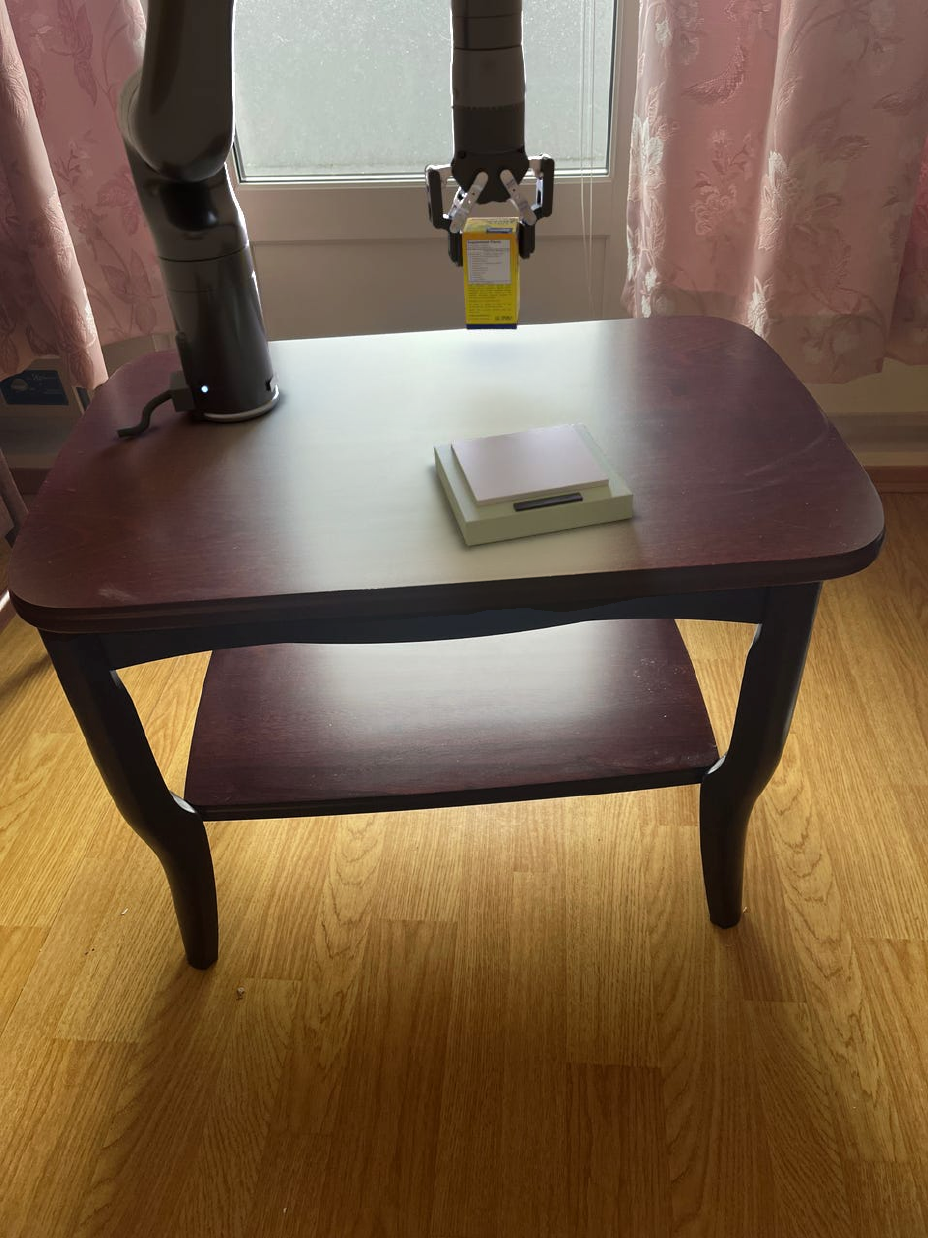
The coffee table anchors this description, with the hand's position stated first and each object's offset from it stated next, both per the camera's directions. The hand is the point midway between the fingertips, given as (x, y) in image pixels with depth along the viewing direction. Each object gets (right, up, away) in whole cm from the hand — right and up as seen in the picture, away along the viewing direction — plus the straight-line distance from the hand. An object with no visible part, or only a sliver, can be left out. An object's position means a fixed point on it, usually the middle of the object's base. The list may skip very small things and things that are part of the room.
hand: (491, 260), depth 107 cm
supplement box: (0, -6, +4) cm, 7 cm away
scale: (+3, -28, -18) cm, 34 cm away
